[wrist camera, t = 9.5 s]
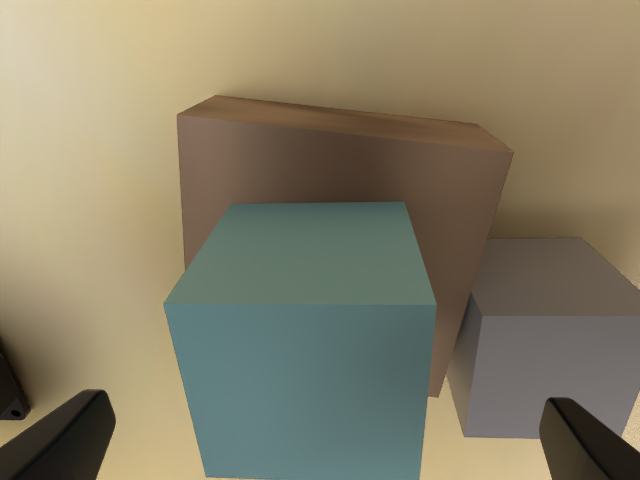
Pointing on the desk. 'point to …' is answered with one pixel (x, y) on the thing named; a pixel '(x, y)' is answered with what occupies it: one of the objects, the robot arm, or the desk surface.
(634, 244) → the desk surface
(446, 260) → the walnut block
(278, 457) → the teal cube
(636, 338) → the grey cube
